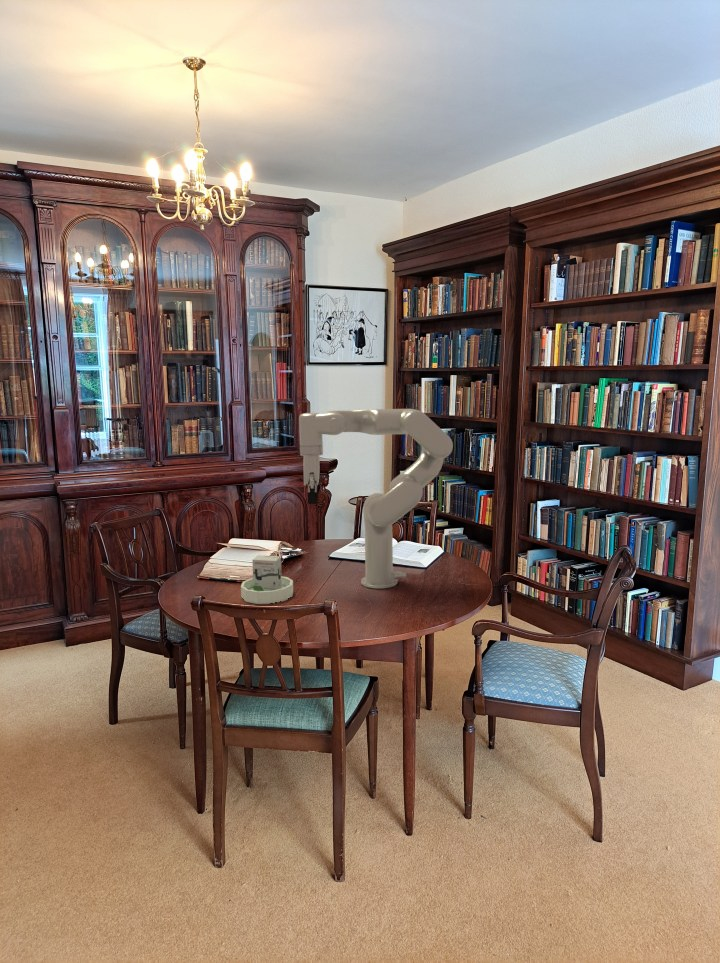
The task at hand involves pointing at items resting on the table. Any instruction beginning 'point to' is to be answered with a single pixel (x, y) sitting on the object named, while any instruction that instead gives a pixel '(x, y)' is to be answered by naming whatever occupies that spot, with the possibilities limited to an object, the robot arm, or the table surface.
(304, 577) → the table surface
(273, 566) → the ink box
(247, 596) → the dish
